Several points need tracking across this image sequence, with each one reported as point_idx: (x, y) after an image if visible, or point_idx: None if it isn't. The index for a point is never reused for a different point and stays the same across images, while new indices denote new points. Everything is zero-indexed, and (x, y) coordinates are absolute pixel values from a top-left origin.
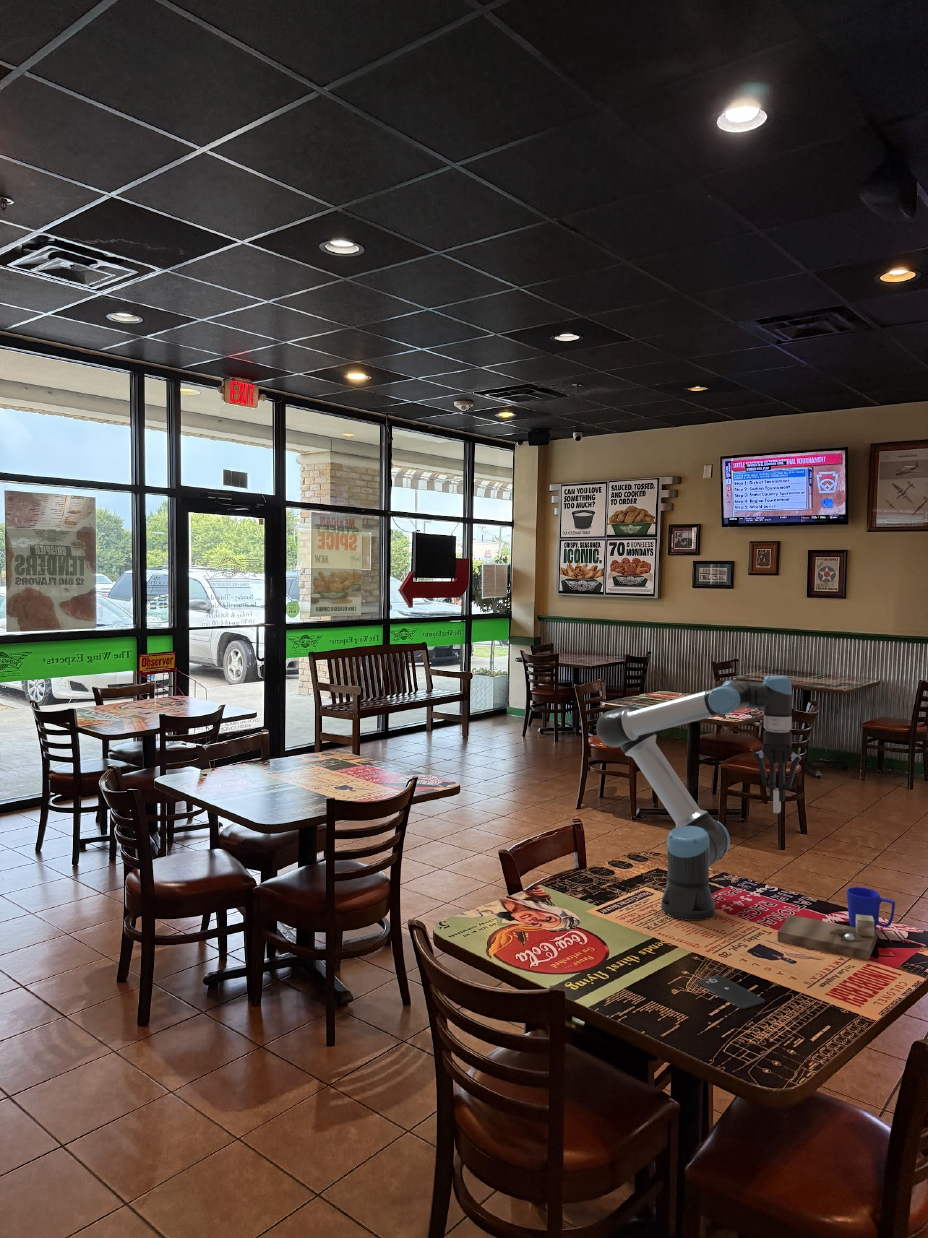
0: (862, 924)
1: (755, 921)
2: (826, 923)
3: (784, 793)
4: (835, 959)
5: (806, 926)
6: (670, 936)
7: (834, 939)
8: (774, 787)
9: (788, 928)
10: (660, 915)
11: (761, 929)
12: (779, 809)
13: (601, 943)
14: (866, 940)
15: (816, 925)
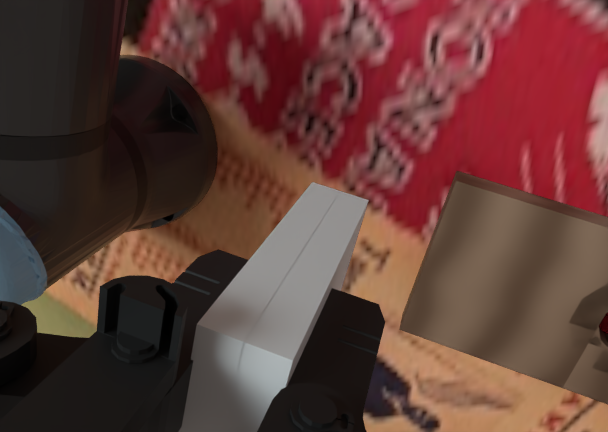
0: None
1: (342, 176)
2: (584, 237)
3: (368, 387)
4: (554, 404)
5: (500, 277)
6: None
7: (575, 363)
8: (168, 426)
9: (435, 301)
10: None
11: (359, 237)
12: (344, 272)
13: None
14: None
15: (539, 261)
